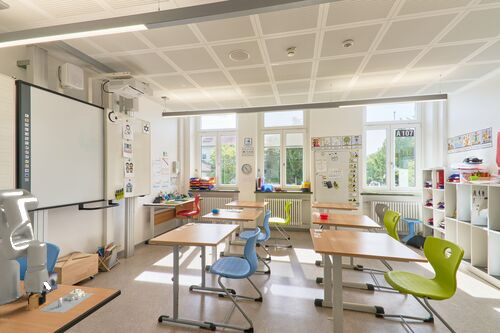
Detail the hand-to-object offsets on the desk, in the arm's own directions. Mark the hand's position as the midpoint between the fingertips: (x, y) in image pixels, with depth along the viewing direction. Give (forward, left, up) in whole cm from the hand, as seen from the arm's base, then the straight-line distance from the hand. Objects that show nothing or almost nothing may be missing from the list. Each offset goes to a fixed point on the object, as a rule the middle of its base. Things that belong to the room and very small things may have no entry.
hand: (36, 303), depth 119 cm
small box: (-11, +13, -3) cm, 17 cm away
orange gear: (0, 0, -2) cm, 2 cm away
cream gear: (+13, +10, -1) cm, 16 cm away
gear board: (+13, +5, -2) cm, 14 cm away
